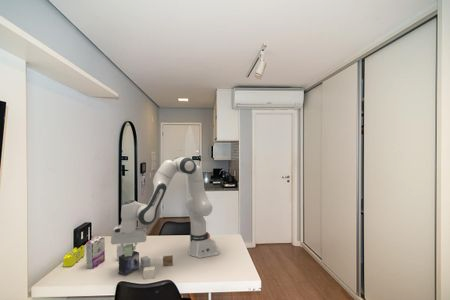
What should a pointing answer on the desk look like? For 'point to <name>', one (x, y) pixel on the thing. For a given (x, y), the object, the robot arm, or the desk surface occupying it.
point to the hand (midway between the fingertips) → (129, 249)
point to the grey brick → (145, 261)
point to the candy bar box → (95, 252)
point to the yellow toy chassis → (73, 256)
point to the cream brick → (149, 272)
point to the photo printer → (120, 250)
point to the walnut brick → (168, 260)
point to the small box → (128, 263)
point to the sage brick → (128, 250)
